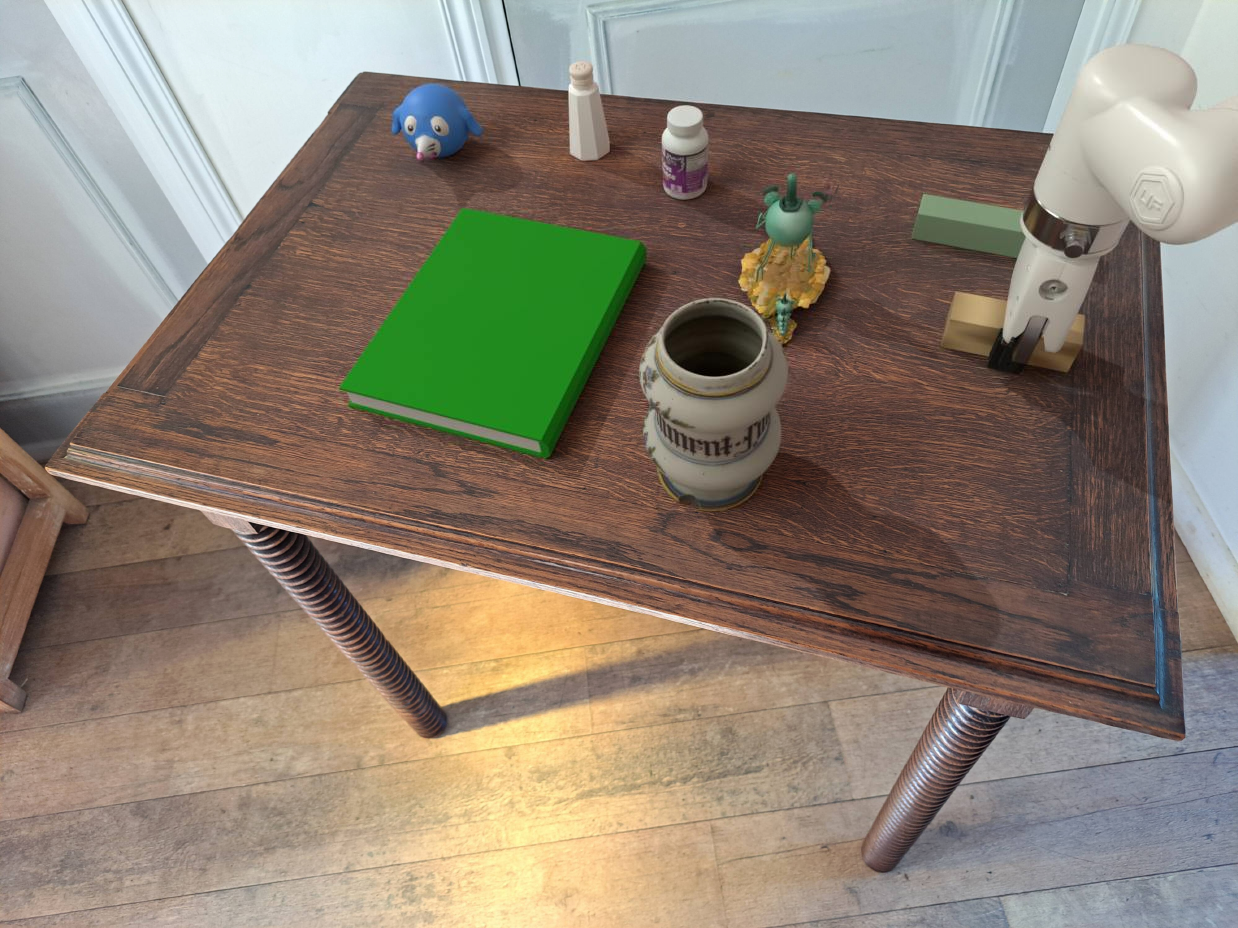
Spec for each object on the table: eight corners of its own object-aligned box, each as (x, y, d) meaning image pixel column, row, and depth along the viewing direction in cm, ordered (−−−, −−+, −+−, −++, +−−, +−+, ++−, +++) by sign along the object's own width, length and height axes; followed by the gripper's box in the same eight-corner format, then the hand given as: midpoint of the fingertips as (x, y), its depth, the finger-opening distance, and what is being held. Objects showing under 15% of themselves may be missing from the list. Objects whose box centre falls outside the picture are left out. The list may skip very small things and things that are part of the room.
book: (348, 406, 87) (338, 387, 84) (468, 228, 101) (462, 207, 99) (551, 460, 81) (546, 441, 79) (646, 263, 96) (645, 242, 93)
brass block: (1070, 343, 85) (1085, 315, 82) (1067, 372, 83) (1083, 344, 80) (945, 319, 88) (955, 290, 85) (940, 347, 86) (950, 319, 83)
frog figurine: (711, 334, 89) (717, 210, 78) (758, 238, 100) (770, 117, 89) (801, 355, 86) (822, 229, 75) (840, 254, 97) (863, 131, 86)
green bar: (1066, 245, 93) (1078, 220, 90) (1064, 267, 91) (1076, 241, 88) (916, 218, 97) (923, 193, 94) (911, 239, 95) (917, 213, 92)
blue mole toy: (382, 187, 107) (360, 127, 100) (407, 129, 113) (389, 70, 107) (474, 190, 105) (459, 129, 98) (495, 131, 112) (482, 71, 105)
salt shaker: (577, 167, 106) (567, 85, 97) (562, 143, 109) (550, 61, 100) (617, 154, 107) (611, 71, 98) (601, 131, 110) (593, 49, 101)
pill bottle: (653, 185, 103) (650, 114, 95) (688, 167, 105) (688, 95, 97) (681, 208, 101) (680, 136, 93) (716, 189, 102) (718, 116, 94)
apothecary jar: (627, 502, 78) (613, 374, 63) (669, 403, 84) (664, 266, 69) (756, 538, 75) (772, 412, 60) (789, 433, 81) (812, 295, 66)
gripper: (1123, 287, 62) (1038, 434, 78) (1131, 162, 70) (1052, 319, 85) (1016, 267, 64) (953, 415, 79) (1034, 148, 72) (974, 304, 87)
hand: (1004, 365), depth 82 cm, fingers closed
